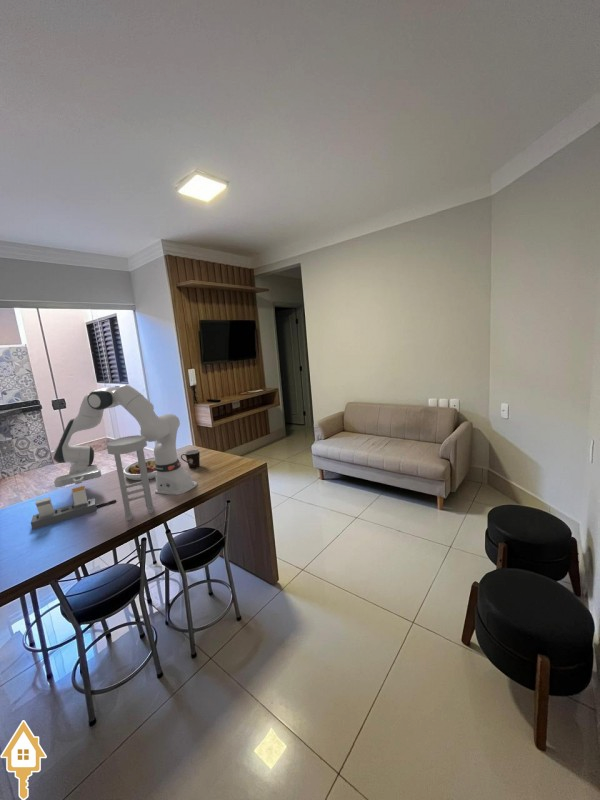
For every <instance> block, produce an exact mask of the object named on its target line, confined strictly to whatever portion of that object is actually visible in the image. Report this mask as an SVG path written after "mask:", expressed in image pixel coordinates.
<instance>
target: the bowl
mask: <svg viewBox="0 0 600 800" xmlns="http://www.w3.org/2000/svg"><path fill="white" fill-rule="evenodd" d="M145 462H146V468H147V474H148V480H152V479H156V474H157V471H156V468H155V463H156V462H155V456H153V457H147V458H145ZM123 473H124V477H126V478H127V479H129V480H132V481H142V480H141V474H140V469H139V463H138V460H137V461H134V462H133V463H130V464H129V465H127V466H125V468H123Z"/></svg>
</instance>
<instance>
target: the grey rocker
mask: <svg viewBox="0 0 600 800" xmlns="http://www.w3.org/2000/svg"><path fill="white" fill-rule="evenodd" d="M35 506H36V508H37V511H38V514H39V515H40V516H44V515H47V514H51V513H54V506H53V503H52V500H51V497H50V496H49V497H45V498H42V499H37V500H35Z"/></svg>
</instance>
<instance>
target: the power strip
mask: <svg viewBox="0 0 600 800" xmlns="http://www.w3.org/2000/svg"><path fill="white" fill-rule="evenodd" d="M113 503H117V500H116V499H113V500H110V501H109V500H108V501H106V502H103V503H98V504H97V502H96V498H95V497H93V498H89V499H87V502H85V503H82V504H78V505H75V504H74V503H72V504H70V505H65V506H62V507H58V508H55V509H54V508H53V509H54V513H51V514H47V515H44V516H40V515H39V513H37V514H33V516H32V519H31V521H30V525H31V530H32V531H34V530H38V529H41V528H44V527H47V526H51V525H55V524H57V523H61V522H63V521H66V520H67V521H68V520H71V519H74V518H77V517H80V516H85V515H87V514H90V513H94V512H97V508H100V507H103V506H107V505H110V504H113Z"/></svg>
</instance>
